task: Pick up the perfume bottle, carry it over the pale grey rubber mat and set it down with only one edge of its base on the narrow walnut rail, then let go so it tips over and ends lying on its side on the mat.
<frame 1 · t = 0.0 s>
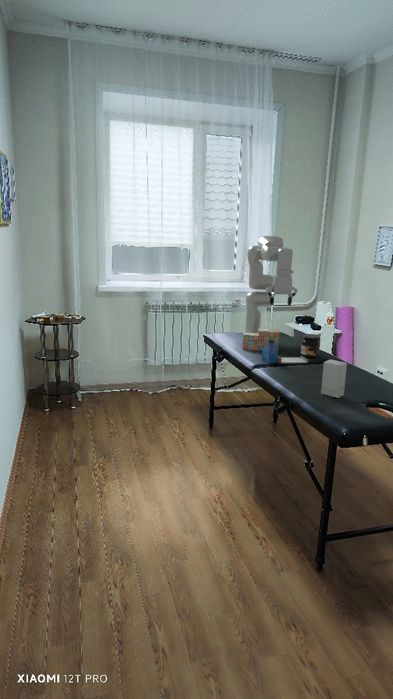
hand: (280, 304, 245), 31 cm above the table, fingers open, 9 cm apart
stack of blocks: (259, 350, 276), on the table
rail: (276, 360, 253), on the table
skincare box: (331, 396, 203), on the table
supplement container: (309, 356, 266), on the table
perfume bottle: (269, 361, 251), on the table
mat: (291, 360, 255), on the table
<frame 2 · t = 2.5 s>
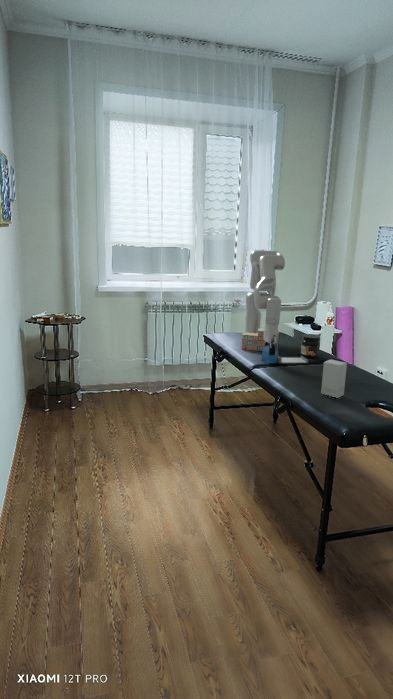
hand: (269, 352, 250), 5 cm above the table, fingers closed on perfume bottle, 7 cm apart
perfume bottle: (269, 361, 251), on the table, touching gripper
everything else where it was.
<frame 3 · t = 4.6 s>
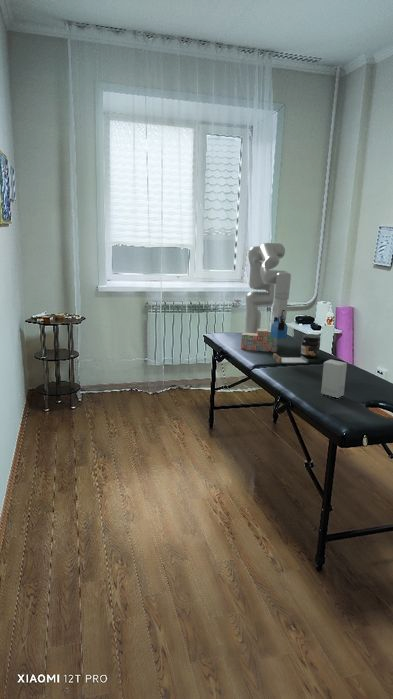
hand: (278, 328, 248), 18 cm above the table, fingers closed on perfume bottle, 7 cm apart
perfume bottle: (278, 337, 249), point 13 cm above the table, touching gripper
everything else where it was.
when the fingers open (10 cm above the table, at t = 6.8 s): perfume bottle moves 3 cm, resting on mat.
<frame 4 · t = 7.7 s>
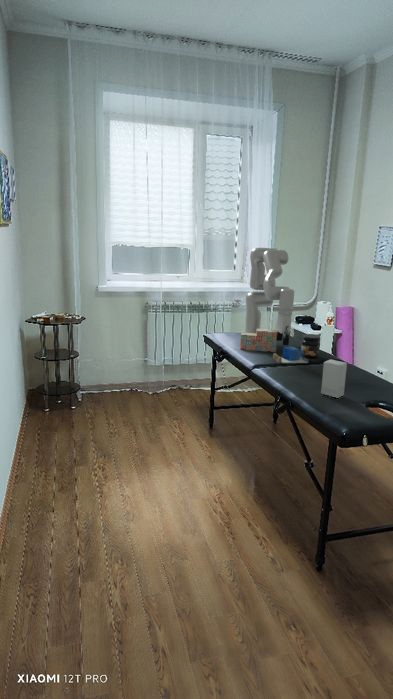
hand: (282, 342, 251), 10 cm above the table, fingers open, 9 cm apart
perfume bottle: (285, 354, 254), point 4 cm above the table, touching mat
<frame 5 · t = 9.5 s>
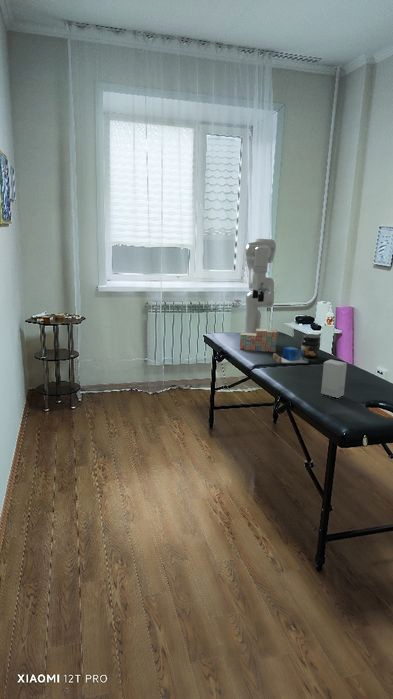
hand: (257, 299, 260), 31 cm above the table, fingers open, 9 cm apart
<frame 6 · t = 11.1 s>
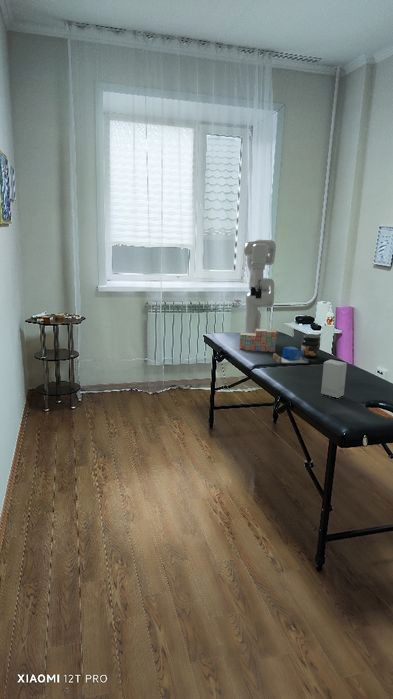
hand: (255, 297, 261), 32 cm above the table, fingers open, 9 cm apart
at the end: perfume bottle tilted 90°; perfume bottle inside the target area (2.2 cm from its centre), point 3.6 cm above the table; the gripper is holding nothing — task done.
